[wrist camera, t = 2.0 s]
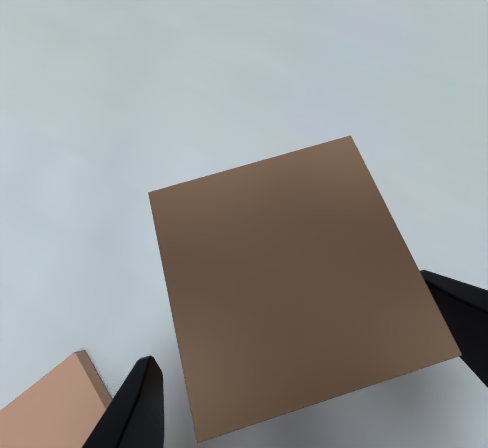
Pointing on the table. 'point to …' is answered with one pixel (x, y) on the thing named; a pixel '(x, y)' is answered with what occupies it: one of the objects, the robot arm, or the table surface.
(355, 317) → the walnut block
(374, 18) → the table surface
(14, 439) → the terracotta mat
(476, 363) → the robot arm
